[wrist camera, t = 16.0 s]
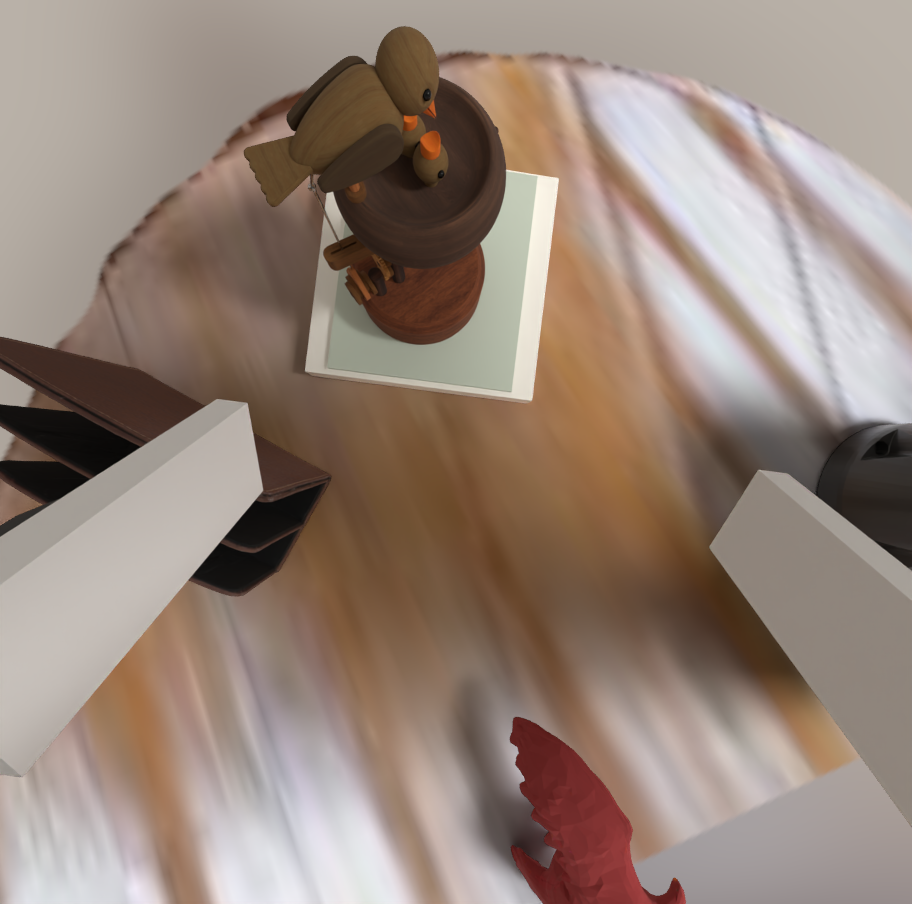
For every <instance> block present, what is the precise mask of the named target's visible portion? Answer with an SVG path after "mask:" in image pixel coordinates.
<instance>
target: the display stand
mask: <svg viewBox="0 0 912 904" xmlns="http://www.w3.org/2000/svg"><path fill="white" fill-rule="evenodd" d="M558 181H559V178H554V177H547V176H541V175H535V174H529V173H522V172H516V171H510V170H506V187H505V194H504V199H503V203H502V206H501V209H500V212H499V215H498V217H497V219H496V221H495V223H494V225H493V227H492V229H491V230H490V232H489V233H488V235H487V236H486V237H485V239H484V240H483V241H482V242H481V243H480V244H481V247H482V250H483V254H484V259H485V278H484V284H483V287H482V291H481V295H480V298H479V302H478V305H477V308H476V310H475V312H474V314H473V316H472V318H471V319H470V320H469V322H468V323H467V324H466V325H465V326H464V328H462V329H461V330H460V331H459V332H458V333H456V334H455V335H454V336H452V337H450V338H448V339H446V340H444V341H441V342H438V343H434V344H428V345H415V344H409V343H405V342H401V341H399V340H396V339H394V338H392V337H391V336H389V335H387V334H386V333H384V332H383V331H382V330H381V329H380V328H379V327H377V325H376V324H375V323H374V322H373V321H372V320H371V318H370V317H369V315H368V313H367V312H366V310H365V308H364V306H363V304H362V305H359V304H358V303H357V302H356V301H355V299H354V298H353V297H352V296H351V294H350V292H349V290H348V289H347V287H346V286H345V284H344V283H346V282H347V280H346V278H345V277H346V276H347V275H348V274H347V272H346V270H347V268H348V267H349V266H348V267H346V268H344V269H341V270H339V271H335V270H332V269H331V268H330V267H329V265H328V263H327V261H326V260H325V258H324V256H323V251H324V249H325V248H326V247H327V246H329V245H331V244H333V243H335V242H337V240H336V238H335V236H334V234H333V232H332V230H331V228H330V225H329V223H328V221H327V219H326V217H325V215H324V220H323V228H322V236H321V244H320V252H319V260H318V269H317V277H316V285H315V293H314V301H313V309H312V317H311V326H310V334H309V342H308V350H307V358H306V366H305V372H307V373H308V374H310V375H312V376H317V377H324V378H332V379H340V380H348V381H355V382H363V383H371V384H379V385H386V386H394V387H402V388H410V389H417V390H425V391H433V392H441V393H448V394H456V395H464V396H472V397H479V398H487V399H495V400H503V401H510V402H518V403H526V404H527V403H529V402H531V401H532V397H533V388H534V380H535V372H536V364H537V355H538V347H539V339H540V330H541V322H542V314H543V305H544V297H545V289H546V281H547V272H548V264H549V256H550V247H551V239H552V231H553V223H554V214H555V206H556V198H557V189H558ZM325 211H326V213H327V216H328V218H329V220H330V222H331V224H332V226H333V228H334V231H335V233H336V235H337V237H338V239H339V241H340V240H342V239H344V238H346V237H348V236H351V235H353V233H352V231H351V230H350V229H349V227H348V226H347V224H346V222H345V221H344V219H343V217H342V215H341V213H340V211H339V209H338V206H337V204H336V201H335V197H334V194H333V192H330V193H327V195H326V203H325Z"/></svg>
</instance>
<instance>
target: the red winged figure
mask: <svg viewBox="0 0 912 904" xmlns="http://www.w3.org/2000/svg"><path fill="white" fill-rule="evenodd" d="M510 742H511V743H512V744H514V745H515V746H517V747H518V751H519V754H518V755H517V757H516V762H515V765H516V766H517V767H518V768H519V770H520V771H521V773H522V775H523V776H524V778H525V781H524V782H522V783H520V790H521V792H522V794H523V795H524V796H525V797H527V798H528V800H529V801H530V802H531V804H532V805H533V806H534V807H535V808H534V809H533V811H532V814H531V817H532V819H533V820H534V821H536V822H538V823H539V824H541V825H542V826H543V827H544V828H545V829H547V830H548V831H549V832H548V833H547V835H546V836H545V838H544V842H545V843H546V844H547V845H548V846H551V847H553V848H555V849H556V852H555V854H554V856H553V858H552V861H551V864H550V867H549V869H547V868H545V867H543V866H541V865H540V863H539V862H538V861H536V860H534V859H533V858H531V857H529V856H528V855H527V854H526V853H525V852H524V851H523V850H522V849H521V848H517V847H515V846H514V845H512V846H511V852H512V855H513V858H514V860H515V862H516V866H517V867H518V868H519V870H520V871H521V873H522V874H523V876H524V877H525V879H526V881H527V882H528V884H529V886H530V888H531V889H532V891H533V892H534V893H535V894H536V895H537V896H538V897H539V899H540V900H541V901H542V903H543V904H685V903H686V900H685V895H684V890H683V889H682V887H681V885H680V883H679V882H678V880H677V879H676V878H673V880H672V882H671V885H670V888H669V889H668V891H667V893H665V894H663V895H660V896H655V895H652V894H650V893H649V892H648V891H647V890H645V889H644V888H643V887H642V886H641V884H640V882H639V880H638V877H637V875H636V872H635V870H634V867H633V864H632V860H631V854H630V840H631V836H632V832H633V829H632V826H631V824H630V822H629V820H628V818H627V817H626V816H625V815H624V813H623V812H622V811H621V810H620V808H619V807H618V805H617V803H616V802H615V800H614V798H613V797H612V795H611V794H610V792H609V790H608V789H607V788H606V786H605V785H604V784H603V782H602V781H601V780H600V779H599V778H598V777H597V776H596V775H595V774H594V773H593V772H592V771H591V770H590V768H589V767H588V766H587V765H586V763H585V762H584V761H583V759H582V758H581V757H580V756H579V755H578V754H577V753H576V752H575V751H574V750H573V749H571V748H570V747H569V746H568V745H566V744H565V743H564V742H562V741H561V740H560V739H558V738H557V737H555V736H554V735H552V734H550V733H549V732H547V731H545V730H544V729H543V728H541V727H540V726H539V725H537V724H535V723H533V722H531V721H529V720H527V719H524V718H520V717H515V718H513V729H512V733H511V736H510Z"/></svg>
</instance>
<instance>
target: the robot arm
mask: <svg viewBox="0 0 912 904" xmlns="http://www.w3.org/2000/svg"><path fill="white" fill-rule="evenodd" d="M262 491H263V486H262V480H261V475H260V469H259V464H258V458H257V453H256V447H255V442H254V436H253V430H252V425H251V419H250V414H249V408H248V403H245V402H237V401H229V400H222V399H216V400H215V401H213V402H212V403H210V404H208V405H207V406H205V407H204V408H202V409H201V410H199V411H197V412H196V413H194V414H193V415H191V416H190V417H188V418H186V419H185V420H183V421H182V422H180V423H179V424H177V425H175V426H174V427H172V428H171V429H169V430H168V431H166V432H164V433H163V434H161V435H160V436H158V437H157V438H155V439H153V440H152V441H150V442H149V443H147V444H145V445H144V446H142V447H141V448H139V449H138V450H136V451H134V452H133V453H131V454H130V455H128V456H127V457H125V458H123V459H122V460H120V461H119V462H117V463H116V464H114V465H112V466H111V467H109V468H108V469H106V470H105V471H103V472H101V473H100V474H98V475H97V476H95V477H94V478H92V479H90V480H89V481H87V482H86V483H84V484H83V485H81V486H79V487H78V488H76V489H75V490H73V491H72V492H70V493H68V494H67V495H65V496H64V497H62V498H61V499H59V500H58V499H57V500H54V501H52V502H49V503H47V504H44V505H42V506H40V507H37V508H35V509H32V510H30V511H27V512H25V513H23V514H20V515H18V516H15V517H14V518H12V519H11V520H9V521H7V522H6V523H4V524H2V525H1V526H0V775H7V776H16V777H23V776H24V775H25V774H26V773H27V772H28V770H29V769H30V768H31V767H32V766H33V764H34V763H35V762H36V761H37V760H38V759H39V757H40V756H41V755H42V754H43V753H44V751H45V750H46V749H47V748H48V747H49V745H50V744H51V743H52V742H53V741H54V739H55V738H56V737H57V736H58V735H59V733H60V732H61V731H62V730H63V729H64V728H65V726H66V725H67V724H68V723H69V722H70V720H71V719H72V718H73V717H74V716H75V714H76V713H77V712H78V711H79V710H80V708H81V707H82V706H83V705H84V704H85V702H86V701H87V700H88V699H89V698H90V697H91V695H92V694H93V693H94V692H95V691H96V689H97V688H98V687H99V686H100V685H101V683H102V682H103V681H104V680H105V679H106V677H107V676H108V675H109V674H110V673H111V671H112V670H113V669H114V668H115V667H116V665H117V664H118V663H119V662H120V661H121V660H122V658H123V657H124V656H125V655H126V654H127V652H128V651H129V650H130V649H131V648H132V646H133V645H134V644H135V643H136V642H137V640H138V639H139V638H140V637H141V636H142V634H143V633H144V632H145V631H146V630H147V629H148V627H149V626H150V625H151V624H152V623H153V621H154V620H155V619H156V618H157V617H158V615H159V614H160V613H161V612H162V611H163V609H164V608H165V607H166V606H167V605H168V603H169V602H170V601H171V600H172V599H173V598H174V596H175V595H176V594H177V593H178V592H179V590H180V589H181V588H182V587H183V586H184V584H185V583H186V582H187V581H188V580H189V578H190V577H191V576H192V575H193V574H194V572H195V571H196V570H197V569H198V568H199V566H200V565H201V564H202V563H203V562H204V561H205V559H206V558H207V557H208V556H209V555H210V553H211V552H212V551H213V550H214V549H215V547H216V546H217V545H218V544H219V543H220V541H221V540H222V539H223V538H224V537H225V535H226V534H227V533H228V532H229V531H230V530H231V528H232V527H233V526H234V525H235V524H236V522H237V521H238V520H239V519H240V518H241V516H242V515H243V514H244V513H245V512H246V510H247V509H248V508H249V507H250V506H251V504H252V503H253V502H254V501H255V500H256V499H257V497H258V496H259V495H260V494H261V493H262ZM709 548H710V550H711V551H712V552H713V554H714V555H715V557H716V558H717V559H718V561H719V562H720V563H721V565H722V566H723V568H724V569H725V570H726V572H727V573H728V574H729V576H730V577H731V579H732V580H733V581H734V583H735V584H736V586H737V587H738V588H739V590H740V591H741V592H742V594H743V595H744V597H745V598H746V599H747V601H748V602H749V603H750V605H751V606H752V608H753V609H754V610H755V612H756V613H757V614H758V616H759V617H760V619H761V620H762V621H763V623H764V624H765V626H766V627H767V628H768V630H769V631H770V632H771V634H772V635H773V637H774V638H775V639H776V641H777V642H778V643H779V645H780V646H781V648H782V649H783V650H784V652H785V653H786V655H787V656H788V657H789V659H790V660H791V661H792V663H793V664H794V666H795V667H796V668H797V670H798V671H799V672H800V674H801V675H802V677H803V678H804V679H805V681H806V682H807V684H808V685H809V686H810V688H811V689H812V690H813V692H814V693H815V695H816V696H817V697H818V699H819V700H820V701H821V703H822V704H823V706H824V707H825V708H826V710H827V711H828V712H829V714H830V715H831V717H832V718H833V719H834V721H835V722H836V724H837V725H838V726H839V728H840V729H841V730H842V732H843V733H844V735H845V736H846V737H847V739H848V740H849V741H850V743H851V744H852V746H853V747H854V748H855V750H856V751H857V753H858V754H859V755H860V757H861V758H862V759H863V761H864V762H865V764H866V765H867V766H868V767H869V769H870V770H871V772H872V773H873V775H874V776H875V777H876V779H877V780H878V782H879V783H880V784H881V786H882V787H883V788H884V790H885V791H886V793H887V794H888V795H889V797H890V798H891V799H892V801H893V802H894V804H895V805H896V806H897V808H898V809H899V811H900V812H901V813H902V815H903V816H904V817H905V819H906V820H907V822H908V823H909V824H910V826H911V827H912V423H908V424H890V425H879V426H874V427H870V428H867V429H865V430H862V431H860V432H858V433H856V434H854V435H853V436H851V437H850V438H848V439H847V440H846V441H844V442H843V443H842V444H841V445H840V446H839V447H838V448H837V449H836V450H835V452H834V453H833V454H832V456H831V457H830V459H829V460H828V462H827V464H826V466H825V468H824V470H823V472H822V475H821V478H820V482H819V486H818V492H817V496H816V495H814V494H813V493H812V492H811V491H809V490H808V489H807V488H806V487H804V486H803V485H802V484H800V483H799V482H798V481H797V480H795V479H794V478H793V477H792V476H790V475H789V474H788V473H781V472H773V471H765V470H758V471H757V472H756V474H755V476H754V477H753V479H752V480H751V482H750V483H749V485H748V487H747V488H746V490H745V491H744V493H743V494H742V496H741V498H740V499H739V501H738V502H737V504H736V505H735V507H734V509H733V510H732V512H731V513H730V515H729V517H728V518H727V520H726V521H725V523H724V524H723V526H722V528H721V529H720V531H719V532H718V534H717V535H716V537H715V539H714V540H713V542H712V543H711V545H710V546H709Z"/></svg>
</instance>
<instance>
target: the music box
mask: <svg viewBox="0 0 912 904" xmlns="http://www.w3.org/2000/svg"><path fill="white" fill-rule="evenodd" d="M287 122H288V124H289V126H290V128H291V129H292V130H293V131H296V133H295V135H294V136H290V137H286V138H282V139H278V140H275V141H271V142H267V143H263V144H259V145H255V146H251V147H247V148H246V149H245V150H244V156H245V158H246V159H247V160H248V161H249V162H250V164H249V165H250V168H251V170H252V171H253V172H254V173H255V178H256V180H257V181H258V182H259V183H260V184H261V190H262V192H263V193H264V194H265V195H266V200H267V202H268V203H269V205H271V206H272V207H276V206H278V205H279V204H280V203H281V202H282V201H283V200H284V199H285V198H286V197H287V196H288V195H289V194H290V193H291V192H293V191H294V190H295V189H296V188H297V187H298V186H299V185H300V184H301V183H302V182H303V181H304V180H305V179H306V178H307V177H308V176H309V175H310V184H309V185H308V189H309V190H310V191H313V192H314V194H315V196H316V198H317V200H318V202H319V205H320V207H321V209H322V211H323V213H324V215H325V217H326V219H327V221H328V223H329V225H330V228H331V230H332V232H333V234H334V236H335V238H336V240H337V242H335V243H333V244H331V245H329V246H327V247H326V248H325V249H324V251H323V256H324V258H325V260H326V261H327V263H328V265H329V267H330V268H331V269H332V270H335V271H339V270H341V269H344V268H346V267H348V266H349V267H348V268H347V270H346V272H347V274H348V275H347V276H346V277H345V278H346V280H347V282H346V283H344V284H345V286H346V287H347V289H348V290H349V292H350V294H351V296H352V297H353V298H354V299H355V301H356V302H357V303H358V304H359V305H362V304H363V306H364V308H365V310H366V312H367V313H368V315H369V317H370V318H371V320H372V321H373V322H374V323H375V324H376V325H377V327H379V328H380V329H381V330H382V331H383V332H384V333H386V334H387V335H389V336H391V337H392V338H394V339H396V340H399V341H401V342H405V343H409V344H415V345H428V344H434V343H438V342H441V341H444V340H446V339H448V338H450V337H452V336H454V335H455V334H456V333H458V332H459V331H460V330H461V329H462V328H464V326H465V325H466V324H467V323H468V322H469V320H470V319H471V318H472V316H473V314H474V312H475V310H476V308H477V305H478V302H479V298H480V295H481V291H482V287H483V284H484V278H485V259H484V254H483V250H482V247H481V244H480V243H481V242H482V241H483V240H484V239H485V237H486V236H487V235H488V233H489V232H490V230H491V229H492V227H493V225H494V223H495V221H496V219H497V217H498V215H499V212H500V209H501V206H502V203H503V199H504V194H505V187H506V163H505V156H504V151H503V147H502V143H501V140H500V137H499V135H498V128H497V127H495V126H494V124H493V122H492V120H491V119H490V117H489V115H488V114H487V112H486V111H485V110H484V108H483V107H482V106H481V105H480V104H479V103H478V102H477V100H476V99H474V98H473V97H472V96H471V95H470V94H469V93H468V92H466V91H465V90H464V89H462V88H461V87H459V86H457V85H456V84H454V83H452V82H450V81H448V80H446V79H443V78H440V77H439V67H438V61H437V57H436V54H435V52H434V49H433V47H432V45H431V44H430V42H429V41H428V39H427V38H426V37H425V36H424V35H423V34H422V33H421V32H419V31H418V30H416V29H413V28H411V27H405V26H404V27H398V28H395V29H393V30H391V31H390V32H389V33H388V34H387V35H386V36H385V37H384V39H383V40H382V42H381V44H380V46H379V49H378V52H377V56H376V65H375V67H374V66H372V65H368V64H367V63H366V62H365V61H364V60H363V59H362V58H360V57H358V56H348V57H346V58H344V59H342V60H341V61H340V62H338V63H337V64H336V65H335V66H333V67H332V68H331V69H330V70H328V71H327V72H326V73H325V74H324V75H323V76H322V77H320V78H319V79H318V80H317V81H316V82H315V83H314V84H313V85H312V86H311V87H310V88H309V89H308V90H307V91H306V92H305V93H304V94H303V96H302V97H301V98H300V99H299V100H298V101H297V103H296V104H295V105H294V106H293V107H292V109H291V110H290V111H289V113H288V114H287ZM313 174H322V175H321V176H320V177H319V178H318V181H317V182H318V185H319V187H320V189H321V191H322V192H324V193H330V192H333V194H334V197H335V201H336V204H337V206H338V209H339V211H340V213H341V215H342V217H343V219H344V221H345V222H346V224H347V226H348V227H349V229H350V230H351V231H352V233H353V235H351V236H348V237H346V238H344V239H342V240H340V241H339V239H338V237H337V235H336V233H335V231H334V228H333V226H332V224H331V222H330V220H329V218H328V216H327V213H326V211H325V209H324V207H323V205H322V203H321V201H320V199H319V196H318V194H317V191H316V185H315V184H314V183H313Z"/></svg>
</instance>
